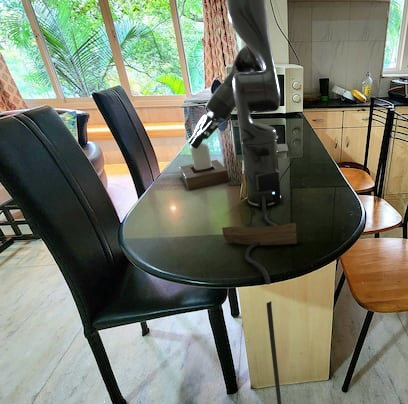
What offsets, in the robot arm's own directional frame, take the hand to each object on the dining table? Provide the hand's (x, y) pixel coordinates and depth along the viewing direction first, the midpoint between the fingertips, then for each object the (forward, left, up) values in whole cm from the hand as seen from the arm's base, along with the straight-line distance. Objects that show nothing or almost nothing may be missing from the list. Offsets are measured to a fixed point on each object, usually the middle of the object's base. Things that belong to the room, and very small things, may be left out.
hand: (192, 145), depth 90 cm
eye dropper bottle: (0, -2, -8) cm, 8 cm away
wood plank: (-45, -4, -12) cm, 47 cm away
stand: (0, -2, -12) cm, 12 cm away
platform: (+22, -35, -12) cm, 43 cm away
